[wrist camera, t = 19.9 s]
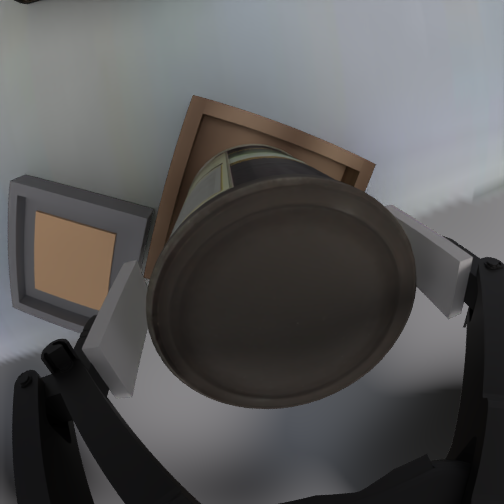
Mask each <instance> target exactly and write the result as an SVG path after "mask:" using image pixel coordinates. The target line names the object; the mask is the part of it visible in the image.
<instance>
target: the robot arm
mask: <svg viewBox="0 0 504 504" xmlns="http://www.w3.org/2000/svg"><path fill="white" fill-rule="evenodd" d="M384 207H386V208H387V209H388V210H389V211H390V212H391V213H392V214H393V215H394V217H395V218H396V219H397V220H398V222H399V223H400V225H401V226H402V228H403V229H404V231H405V233H406V235H407V237H408V239H409V241H410V243H411V247H412V251H413V254H414V257H415V265H416V276H417V280H416V286H417V287H418V288H419V289H420V290H421V291H422V292H423V293H424V294H425V295H426V296H427V297H428V298H429V299H430V300H431V301H432V302H433V303H434V305H435V306H437V308H438V309H439V310H440V311H441V312H442V313H443V314H444V315H445V316H446V317H447V318H448V319H450V318H452V317H454V316H457V315H459V314H461V311H462V307H463V303H464V302H465V303H466V304H467V305H468V306H469V308H468V312H467V316H466V319H465V323H464V326H463V327H466V324H467V335H466V336H467V337H466V354H465V365H464V375H463V384H462V392H461V399H460V405H459V412H458V417H457V422H456V427H455V432H454V437H453V441H452V445H451V448H450V450H449V452H448V454H447V456H446V458H445V459H439V460H432V461H430V459H429V458H428V455H427V454H426V455H424V456H422V457H420V458H418V459H415V460H413V461H411V462H409V463H407V464H405V465H402V466H400V467H398V468H396V469H393V470H392V471H391V472H389V473H388V474H386V475H385V476H384V477H382V478H380V479H379V480H377V481H376V482H374V483H373V484H371V485H370V486H368V487H367V488H365V489H363V490H362V491H359V492H355V493H347V494H346V493H345V494H333V495H316V496H312V497H308V498H303V499H299V500H295V501H290V502H285V503H280V504H504V264H503V263H502V262H501V261H499V260H497V259H495V258H491V257H485V258H481V259H480V258H478V257H477V256H476V255H474V254H473V253H471V252H470V251H468V250H467V249H465V248H464V247H463V246H461V245H458V243H457V242H455V241H454V240H452V239H450V238H447V237H445V236H441V235H440V234H438V233H437V232H435V231H434V230H432V229H430V228H429V227H427V226H426V225H424V224H423V223H421V222H420V221H418V220H416V219H415V218H413V217H411V216H410V215H408V214H407V213H405V212H403V211H402V210H400V209H398V208H397V207H395V206H393V205H388V206H384ZM147 290H148V287H147V285H146V282H145V280H144V277H143V275H142V272H141V270H140V267H139V264H138V262H137V260H135V261H130V262H126V263H124V264H123V266H122V268H121V269H120V271H119V273H118V275H117V277H116V279H115V281H114V283H113V285H112V286H111V288H110V290H109V292H108V294H107V296H106V298H105V300H104V302H103V304H102V306H101V308H100V310H99V312H98V315H93V316H92V317H91V318H90V319H89V320H88V322H87V323H86V324H85V326H84V329H83V332H82V333H81V335H80V338H79V339H78V341H77V343H76V345H75V347H74V349H73V348H72V346H71V345H70V343H69V341H67V340H66V339H58V340H55V341H53V342H51V343H50V344H49V345H47V346H46V348H45V349H44V350H43V352H42V354H41V359H42V361H43V362H44V364H45V365H46V366H47V368H48V369H49V371H50V372H51V373H52V374H51V375H48V376H45V377H42V378H41V377H40V376H39V374H38V373H37V372H36V371H34V370H29V371H26V372H24V373H22V374H21V375H20V376H19V377H18V379H17V380H16V382H15V385H14V397H13V423H12V440H13V441H12V444H13V465H14V478H15V487H16V496H17V503H18V504H94V502H93V499H92V496H91V492H90V489H89V486H88V483H87V479H86V475H85V472H84V468H83V464H82V460H81V456H80V452H79V448H78V443H77V439H76V433H75V428H74V424H73V421H74V422H75V424H76V426H77V428H78V430H79V432H80V434H81V436H82V438H83V439H84V441H85V443H86V445H87V447H88V448H89V450H90V452H91V453H92V455H93V457H94V458H95V460H96V461H97V463H98V465H99V466H100V468H101V469H102V471H103V473H104V474H105V476H106V477H107V479H108V480H109V482H110V483H111V485H112V486H113V488H114V489H115V490H116V492H117V493H118V495H119V496H120V497H121V499H122V500H123V501H124V503H125V504H201V503H200V502H199V501H198V500H196V498H194V497H193V496H192V495H191V494H190V493H189V492H188V491H187V490H186V489H185V488H184V487H183V486H182V485H181V484H180V483H179V482H178V481H177V480H176V479H175V478H174V477H173V476H172V475H171V474H170V473H169V472H168V471H167V470H166V469H165V468H164V467H163V466H162V464H161V463H160V462H159V461H158V460H157V459H156V458H155V457H154V456H153V455H152V453H151V452H150V451H149V450H148V449H147V448H146V446H145V445H144V444H143V443H142V442H141V440H140V439H139V438H138V437H137V436H136V434H135V433H134V432H133V431H132V429H131V428H130V427H129V426H128V424H127V423H126V422H125V420H124V419H123V418H122V417H121V415H120V414H119V413H118V411H117V410H116V409H115V407H114V406H113V404H112V403H111V402H110V400H109V399H108V398H107V395H108V391H109V390H110V391H111V392H112V394H113V395H114V396H115V398H130V397H132V396H133V390H134V386H135V381H136V376H137V372H138V367H139V363H140V358H141V354H142V349H143V345H144V341H145V337H146V333H147V329H148V325H147V318H146V295H147Z"/></svg>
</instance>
